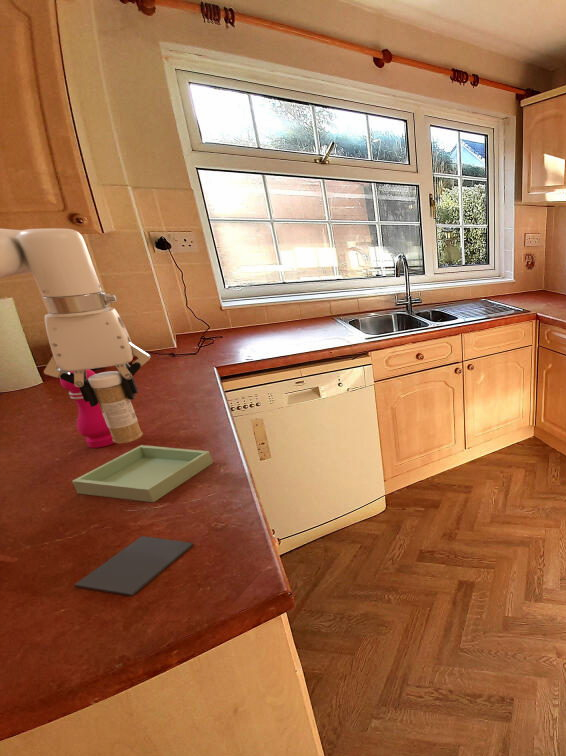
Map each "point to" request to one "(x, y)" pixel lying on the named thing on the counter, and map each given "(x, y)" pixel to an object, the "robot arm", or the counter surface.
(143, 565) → the mat
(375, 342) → the counter surface
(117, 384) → the sprinkles bottle
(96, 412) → the pepper mill
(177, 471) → the tray
